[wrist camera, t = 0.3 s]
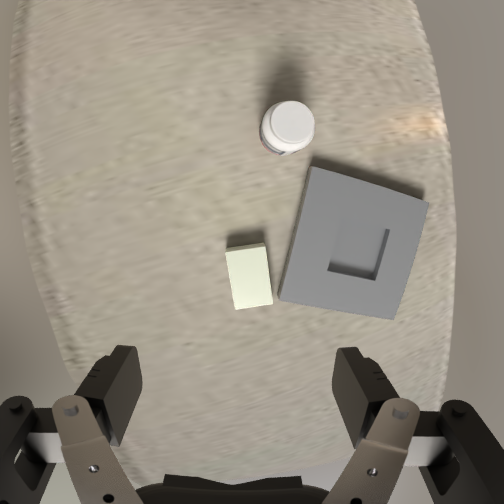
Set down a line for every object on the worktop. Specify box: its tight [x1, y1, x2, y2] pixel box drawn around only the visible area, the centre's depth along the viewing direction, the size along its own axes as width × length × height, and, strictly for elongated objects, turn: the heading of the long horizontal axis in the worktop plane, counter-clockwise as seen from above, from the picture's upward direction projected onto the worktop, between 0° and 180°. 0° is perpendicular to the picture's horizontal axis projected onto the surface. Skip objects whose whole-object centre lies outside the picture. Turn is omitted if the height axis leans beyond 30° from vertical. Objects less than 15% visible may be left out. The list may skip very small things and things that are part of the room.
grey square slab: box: [278, 166, 429, 320], centre depth 38 cm, size 16×16×2 cm
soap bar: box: [225, 243, 273, 310], centre depth 38 cm, size 7×4×2 cm, turn 8°
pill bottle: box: [259, 101, 315, 155], centre depth 31 cm, size 5×5×9 cm
